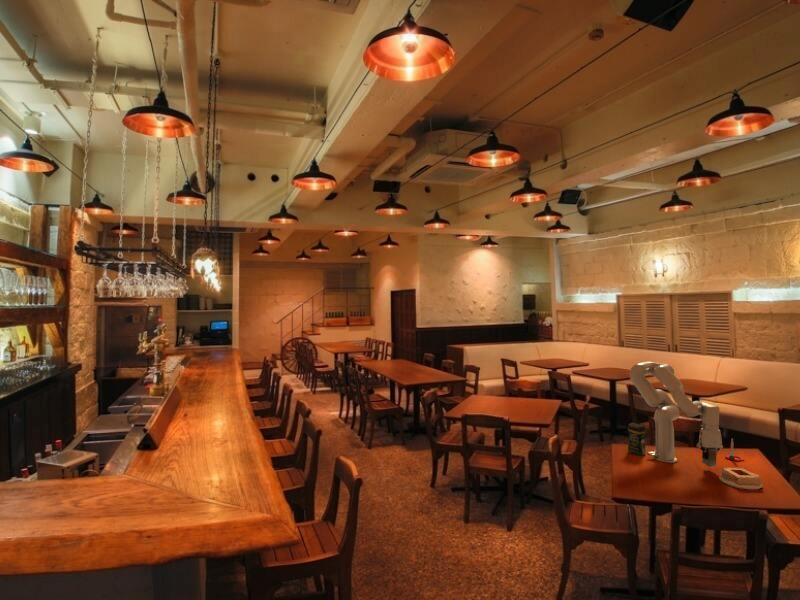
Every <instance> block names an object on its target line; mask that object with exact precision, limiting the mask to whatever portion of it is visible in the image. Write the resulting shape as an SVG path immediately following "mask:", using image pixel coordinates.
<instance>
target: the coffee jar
mask: <svg viewBox="0 0 800 600" xmlns="http://www.w3.org/2000/svg"><path fill="white" fill-rule="evenodd" d="M627 432H628V446H627V452H628V451H629V452H628V453H630V452H631V453H630V454H632V453H633V454H632V455H635V454H636V456H644V454H645V455H646V453H647V451H646V440H645V439H646V436H645V435H646V432H647V431H646V426H645V425H643V424H640V423H639V424H638V423H634V422H629V423H628V427H627Z"/></svg>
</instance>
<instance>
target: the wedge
mask: <svg viewBox="0 0 800 600" xmlns="http://www.w3.org/2000/svg"><path fill="white" fill-rule="evenodd" d="M717 454H718V453H717V449H716V448H707V460H706V459H704V458H703V457H702V456H701V458H702V459H701V463H702V464H704V465H706V466H708V467H715V468H716V467H717V456H718V455H717Z"/></svg>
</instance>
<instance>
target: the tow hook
mask: <svg viewBox="0 0 800 600" xmlns="http://www.w3.org/2000/svg"><path fill="white" fill-rule="evenodd" d="M724 458H725V459H726V460H729V461H733V462H736V463H737V462H744V461H745V459H744V458H743V457H742V456H739V455H735V454H734V438H731V442H730V454H727V455H726V456H725V457H724ZM739 458H740V459H739Z"/></svg>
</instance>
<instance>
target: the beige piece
mask: <svg viewBox="0 0 800 600" xmlns="http://www.w3.org/2000/svg"><path fill="white" fill-rule="evenodd" d="M720 471H721V472H720V474H719V481H720V482H721V483H722V484H725V485H726V486H729V487H731V488H733V489H734V488H736V489H738V488H739V489H740V490H744V489H747V490H746V491H756V490H755V489H760V488H762V489H763V483H762V481H761V475H758V474H756V473H755V472H751V471H749V470H747V469H745V468H744V467H721V469H720ZM748 489H749V490H748ZM760 490H761V489H760Z"/></svg>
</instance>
